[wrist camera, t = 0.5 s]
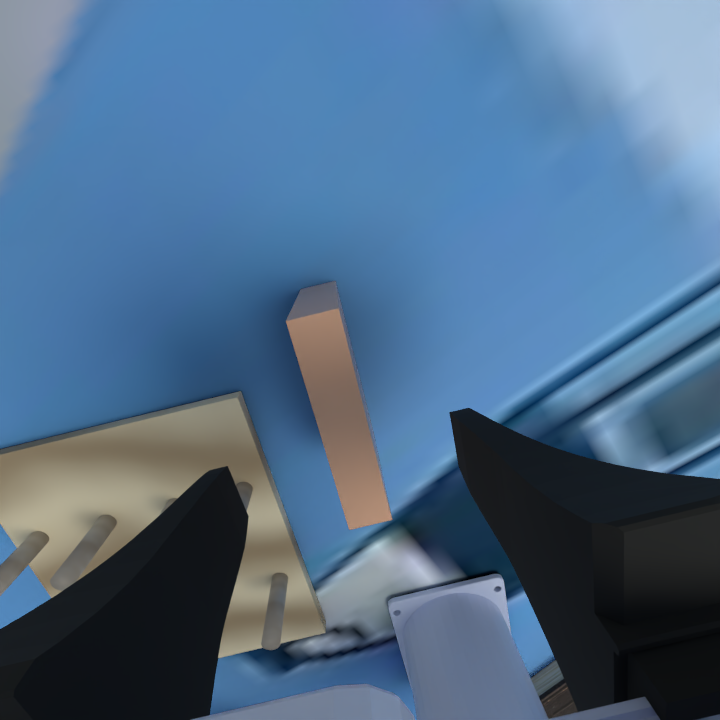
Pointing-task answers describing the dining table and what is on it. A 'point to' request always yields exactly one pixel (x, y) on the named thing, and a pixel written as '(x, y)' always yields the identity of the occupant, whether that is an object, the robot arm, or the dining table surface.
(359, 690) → the robot arm
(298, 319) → the brown rectangular block
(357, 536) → the dining table surface
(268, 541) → the dish rack
